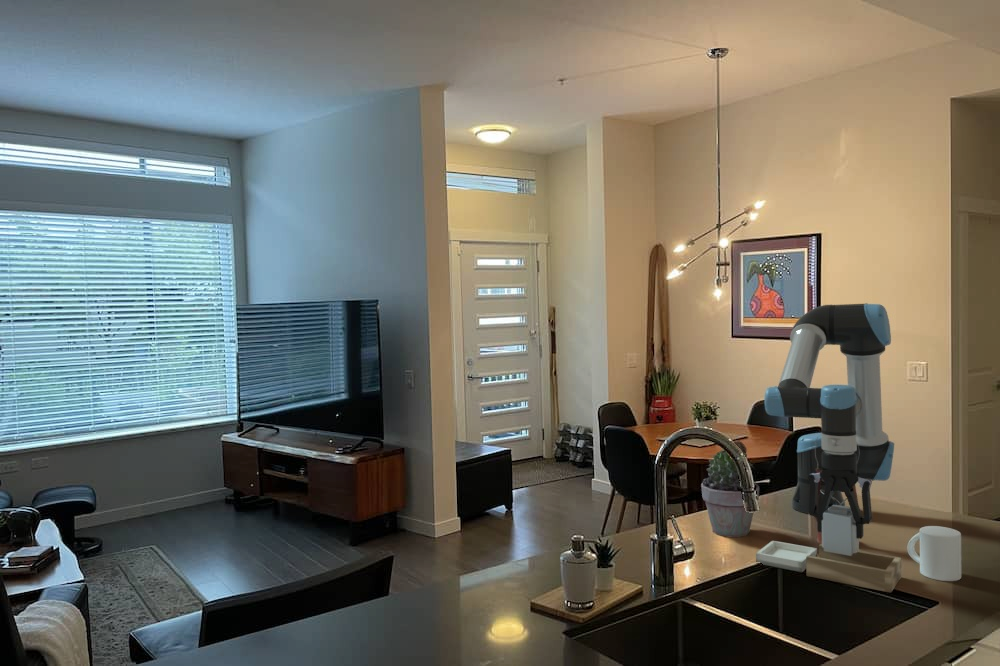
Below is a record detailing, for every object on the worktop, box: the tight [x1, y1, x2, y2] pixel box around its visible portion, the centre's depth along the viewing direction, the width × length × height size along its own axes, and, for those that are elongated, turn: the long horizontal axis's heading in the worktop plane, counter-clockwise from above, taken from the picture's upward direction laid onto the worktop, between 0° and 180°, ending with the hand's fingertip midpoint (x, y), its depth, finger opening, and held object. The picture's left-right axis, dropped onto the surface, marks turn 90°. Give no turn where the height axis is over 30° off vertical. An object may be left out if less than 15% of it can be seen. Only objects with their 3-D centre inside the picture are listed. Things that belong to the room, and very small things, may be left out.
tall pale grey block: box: [823, 505, 855, 556], centre depth 173 cm, size 6×6×10 cm
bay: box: [805, 543, 902, 593], centre depth 171 cm, size 11×18×4 cm, turn 51°
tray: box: [755, 540, 818, 573], centre depth 183 cm, size 12×11×2 cm
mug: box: [906, 525, 962, 582], centre depth 172 cm, size 8×10×12 cm
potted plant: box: [697, 440, 760, 538], centre depth 206 cm, size 18×20×25 cm
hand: (840, 548), depth 173 cm, fingers closed on tall pale grey block, 6 cm apart
